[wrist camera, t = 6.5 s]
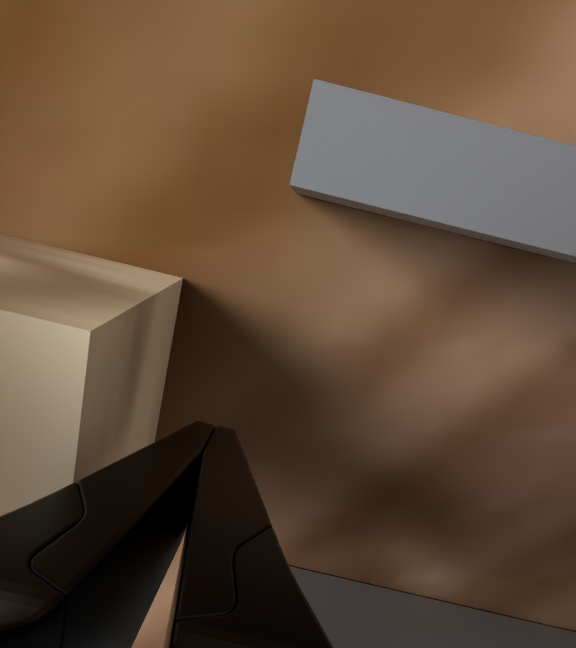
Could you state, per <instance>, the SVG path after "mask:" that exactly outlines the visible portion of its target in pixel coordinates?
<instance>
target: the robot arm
mask: <svg viewBox="0 0 576 648" xmlns="http://www.w3.org/2000/svg"><path fill="white" fill-rule="evenodd" d="M186 528H187V529H186ZM185 531H186V534H185ZM184 534H185V539H184V544H183V549H182V554H181V559H180V564H179V569H178V575H177V580H176V585H175V590H174V595H173V601H172V606H171V611H170V616H169V621H168V626H167V632H166V637H165V642H164V647H163V648H333V646H332V644H331V642H330V640H329V639H328V637H327V635H326V633H325V631H324V630H323V628H322V626H321V624H320V622H319V621H318V619H317V617H316V615H315V614H314V612H313V610H312V608H311V606H310V605H309V603H308V601H307V599H306V597H305V596H304V594H303V592H302V590H301V588H300V586H299V585H298V583H297V581H296V579H295V577H294V575H293V573H292V571H291V569H290V567H289V565H288V563H287V561H286V558H285V556H284V554H283V552H282V549H281V547H280V545H279V542H278V539H277V537H276V534H275V532H274V529H273V528H272V524H271V522H270V519H269V517H268V514H267V511H266V509H265V506H264V504H263V501H262V498H261V496H260V493H259V491H258V488H257V486H256V483H255V480H254V478H253V475H252V473H251V470H250V467H249V465H248V462H247V460H246V457H245V455H244V452H243V449H242V447H241V444H240V442H239V439H238V437H237V434H236V432H235V430H233V429H230V428H226V427H221V426H217V427H216V428H215V426H214V425H213V424H209V423H204V422H200V421H196V422H194V423H192V424H190V425H188V426H186V427H184V428H182V429H180V430H178V431H176V432H174V433H172V434H170V435H168V436H166V437H164V438H162V439H160V440H158V441H156V442H154V443H152V444H150V445H148V446H146V447H144V448H142V449H140V450H138V451H136V452H134V453H132V454H130V455H128V456H126V457H124V458H122V459H120V460H118V461H116V462H114V463H112V464H110V465H108V466H106V467H104V468H102V469H100V470H98V471H96V472H94V473H92V474H90V475H88V476H86V477H84V478H82V479H80V480H78V481H77V483H76V482H74V483H72V484H70V485H68V486H66V487H64V488H62V489H60V490H58V491H56V492H53V493H51V494H49V495H47V496H45V497H43V498H41V499H39V500H36V501H34V502H32V503H30V504H28V505H25V506H23V507H21V508H18V509H16V510H14V511H11V512H9V513H6V514H4V515H2V516H0V648H131V647H132V645H133V642H134V640H135V638H136V636H137V634H138V632H139V630H140V628H141V625H142V623H143V621H144V619H145V617H146V615H147V613H148V611H149V609H150V606H151V604H152V602H153V600H154V598H155V596H156V594H157V592H158V590H159V587H160V585H161V583H162V581H163V579H164V577H165V575H166V573H167V570H168V568H169V566H170V564H171V562H172V560H173V558H174V556H175V554H176V551H177V549H178V547H179V545H180V543H181V541H182V538H183V536H184Z"/></svg>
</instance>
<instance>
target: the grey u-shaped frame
mask: <svg viewBox="0 0 576 648" xmlns="http://www.w3.org/2000/svg"><path fill="white" fill-rule="evenodd" d="M290 186H291V187H292V189H293V190H294V191H295V192H296V193H297V194H301V195H305V196H309V197H313V198H317V199H321V200H325V201H329V202H333V203H337V204H341V205H345V206H349V207H353V208H357V209H361V210H365V211H369V212H373V213H377V214H381V215H385V216H389V217H393V218H397V219H401V220H405V221H409V222H413V223H417V224H421V225H425V226H429V227H433V228H437V229H441V230H445V231H449V232H453V233H457V234H461V235H465V236H469V237H473V238H477V239H481V240H485V241H489V242H493V243H497V244H501V245H505V246H509V247H513V248H517V249H521V250H525V251H529V252H533V253H537V254H541V255H545V256H549V257H553V258H557V259H561V260H565V261H569V262H573V263H576V146H575V145H571V144H567V143H563V142H559V141H555V140H551V139H547V138H543V137H539V136H535V135H532V134H528V133H524V132H520V131H516V130H512V129H508V128H504V127H500V126H496V125H492V124H489V123H485V122H481V121H477V120H473V119H469V118H465V117H461V116H457V115H453V114H449V113H446V112H442V111H438V110H434V109H430V108H426V107H422V106H418V105H414V104H410V103H406V102H403V101H399V100H395V99H391V98H387V97H383V96H379V95H375V94H371V93H367V92H363V91H360V90H356V89H352V88H348V87H344V86H340V85H336V84H332V83H328V82H324V81H320V80H317V79H314V80H313V85H312V89H311V94H310V98H309V102H308V107H307V111H306V115H305V120H304V124H303V129H302V133H301V137H300V142H299V146H298V150H297V155H296V159H295V163H294V168H293V172H292V177H291V181H290ZM289 567H290V569H291V571H292V573H293V575H294V577H295V579H296V581H297V583H298V585H299V586H300V588H301V590H302V592H303V594H304V596H305V597H306V599H307V601H308V603H309V605H310V606H311V608H312V610H313V612H314V614H315V615H316V617H317V619H318V621H319V622H320V624H321V626H322V628H323V630H324V631H325V633H326V635H327V637H328V639H329V640H330V642H331V644H332V646H333V648H576V632H572V631H568V630H563V629H559V628H555V627H550V626H546V625H542V624H537V623H533V622H529V621H524V620H520V619H516V618H511V617H507V616H503V615H498V614H494V613H490V612H485V611H481V610H477V609H472V608H468V607H464V606H460V605H455V604H451V603H447V602H442V601H438V600H434V599H429V598H425V597H421V596H416V595H412V594H408V593H403V592H399V591H395V590H390V589H386V588H382V587H377V586H373V585H369V584H364V583H360V582H356V581H351V580H347V579H343V578H338V577H334V576H330V575H325V574H321V573H317V572H312V571H308V570H304V569H299V568H295V567H291V566H289Z"/></svg>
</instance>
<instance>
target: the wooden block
mask: <svg viewBox="0 0 576 648" xmlns="http://www.w3.org/2000/svg"><path fill="white" fill-rule="evenodd" d="M182 281H183V278H180V277H176V276H172V275H168V274H164V273H160V272H156V271H151V270H147V269H143V268H139V267H135V266H131V265H127V264H123V263H119V262H115V261H110V260H106V259H102V258H98V257H94V256H90V255H86V254H82V253H78V252H74V251H70V250H65V249H61V248H57V247H53V246H49V245H45V244H41V243H37V242H33V241H29V240H24V239H20V238H16V237H12V236H8V235H4V234H0V516H2V515H4V514H6V513H9V512H11V511H14V510H16V509H18V508H21V507H23V506H25V505H28V504H30V503H32V502H34V501H36V500H39V499H41V498H43V497H45V496H47V495H49V494H51V493H53V492H56V491H58V490H60V489H62V488H64V487H66V486H68V485H70V484H72V483H74V482H76V483H77V481H78V480H80V479H82V478H84V477H86V476H88V475H90V474H92V473H94V472H96V471H98V470H100V469H102V468H104V467H106V466H108V465H110V464H112V463H114V462H116V461H118V460H120V459H122V458H124V457H126V456H128V455H130V454H132V453H134V452H136V451H138V450H140V449H142V448H144V447H146V446H148V445H150V444H152V443H154V442H155V437H156V431H157V426H158V420H159V414H160V408H161V402H162V397H163V391H164V385H165V379H166V373H167V368H168V362H169V356H170V350H171V344H172V339H173V333H174V327H175V321H176V315H177V310H178V304H179V298H180V292H181V287H182Z"/></svg>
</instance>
